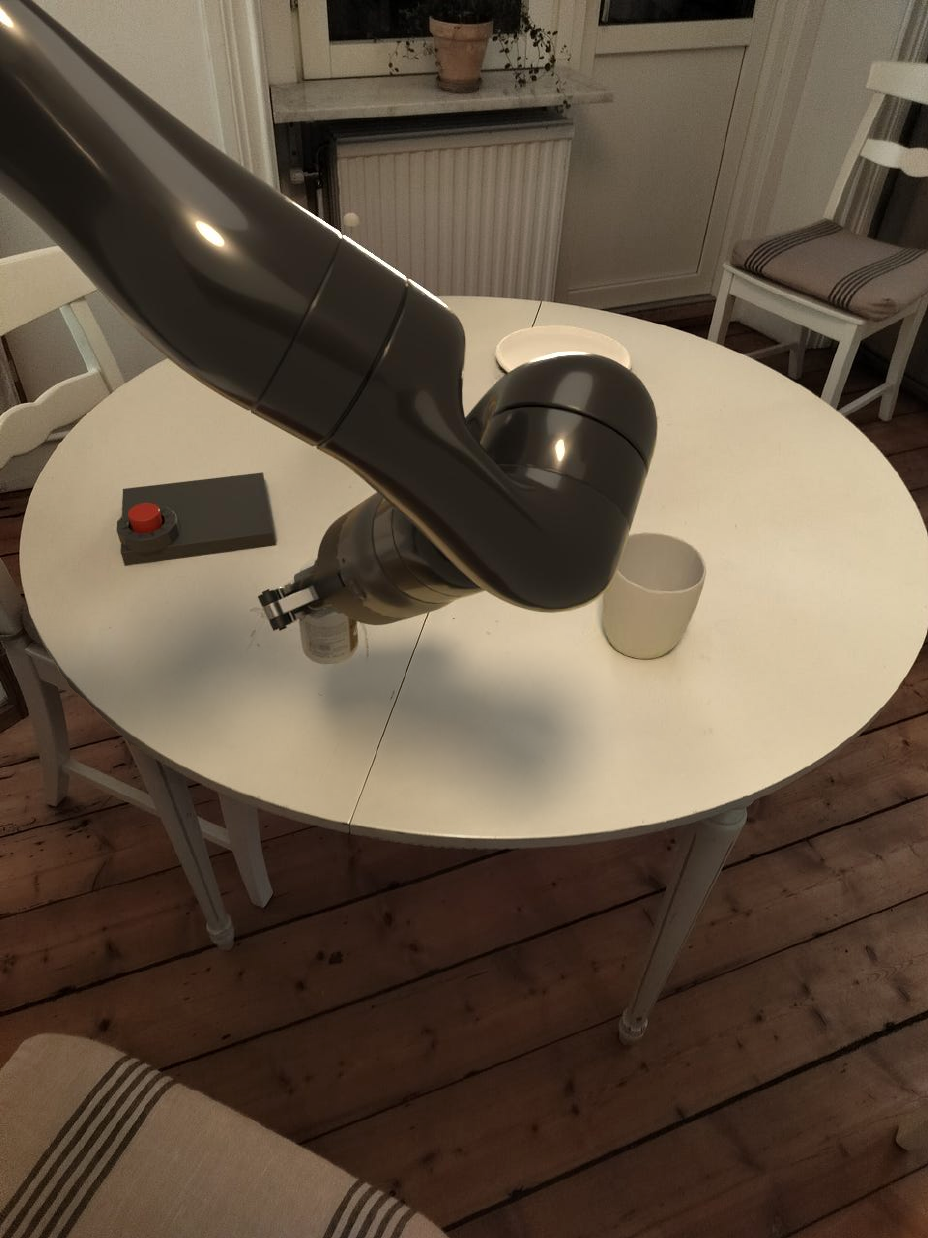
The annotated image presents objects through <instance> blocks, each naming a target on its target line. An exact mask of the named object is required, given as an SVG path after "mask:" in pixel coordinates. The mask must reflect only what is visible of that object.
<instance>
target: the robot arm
mask: <svg viewBox="0 0 928 1238" xmlns="http://www.w3.org/2000/svg"><path fill="white" fill-rule="evenodd" d="M0 194H1V195H2V196H4V197H5V198H6V199H7V200H9V202H11V203H12V204H13V205H14V206H16V207H17V208H18V209H19V210H20V211H21V212H22V213H23V214H25V215H26V217H28V218H29V219H30V220H31V221H32V222H34V224H35V225H37V226H38V227H39V228H40V229H41V230H42V232H44V233H45V235H47V236H48V238H49V239H51V240H52V241H53V243H55V245H56V246H58V247H59V248H60V249H61V250H62V251H63V252H64V254H65V255H66V256H68V258H70V260H71V261H72V262H73V263H74V264H75V265H76V267H78V269H79V270H80V271H81V272H82V273H83V274H84V275H85V276H86V278H87V279H88V280H89V282H91V283H92V285H94V287H95V288H96V289H97V290H98V291H99V292H100V294H102V295H103V297H104V298H106V300H107V301H108V302H109V303H110V304H111V306H113V307H114V309H116V311H117V312H118V313H119V314H120V315H121V316H122V317H123V318H124V320H126V321H127V322H128V324H130V325H131V326H132V327H133V328H134V330H135V331H137V332H138V333H139V334H140V335H141V336H142V337H143V338H144V339H145V340H146V341H147V342H148V343H150V344H151V345H152V346H153V347H154V348H155V349H156V350H157V351H158V352H160V353H161V354H162V355H163V356H164V357H166V358H167V359H168V360H169V361H171V362H172V363H173V364H174V365H175V366H176V367H178V368H179V369H181V371H183V372H185V373H186V374H188V375H189V376H190V377H191V378H193V379H194V380H196V381H197V382H198V383H200V384H202V385H203V386H205V387H207V388H208V389H210V390H211V391H213V392H215V393H216V394H218V395H219V396H221V397H222V398H224V399H226V400H228V401H230V402H231V403H233V404H235V405H237V406H239V407H241V408H242V409H244V410H246V411H247V412H248V411H250V413H251V414H253V415H255V416H257V417H258V418H260V419H262V420H263V421H266V422H268V424H271V425H273V426H274V427H276V428H278V429H280V430H282V431H284V432H285V433H287V434H289V435H291V436H293V437H295V438H297V439H298V440H300V441H302V442H304V443H306V444H307V445H309V446H310V447H316V449H317V450H318V451H320V452H321V453H323V454H326V455H327V456H330V457H331V458H333V459H334V460H336V461H338V462H339V463H341V464H343V465H344V466H345V467H347V468H348V469H350V470H351V471H352V472H353V473H354V474H356V475H357V476H358V477H360V478H361V479H362V481H364V482H365V483H366V484H368V486H369V487H371V488H372V489H373V490H374V491H375V493H373V494H372V495H370V496H369V497H367V498H366V499H364V500H363V501H362V502H360V503H359V504H357V505H355V506H354V507H352V508H351V509H350V510H348V511H346V512H345V513H343V514H342V515H341V516H339V517H338V518H336V519H335V520H334V521H333V523H331V524H330V525H329V526H328V528H327V530H326V531H325V532H324V534H323V536H322V538H321V541H320V543H319V547H318V551H317V556H316V558H317V559H316V558H315V559H316V560H315V562H314V565H313V566H311V567H309V568H307V569H305V570H303V571H301V572H300V571H299V572H296V573H295V574H294V576H293V583H291V582H289V583H287V584H285V585H284V586H283V587H282V586H280V587H277V588H274V589H271V590H270V589H269V588H267V589H264V590H263V591H261V594H259V595H258V596H257V598H258V601H259V603H260V605H261V607H262V609H263V612H264V615H265V616H266V619H267V621H268V624H269V625H270V627H271V629H272V631H273V632H274V631H277V630H278V631H279V632H281V631H283V630H285V629H288V627H287V626H288V625H291V624H292V623H295V622H297V621H299V619H300V621H301V620H303V619H305V618H306V616H307V615H309V616H310V617H311V618H312V619H314V620H317V619H319V618H322V617H324V616H326V615H329V614H331V613H334V612H336V613H338V614H341V613H343V614H344V615H346V616H347V617H349V618H351V619H353V620H355V621H357V623H359V624H364V625H370V626H384V625H390V624H394V623H396V622H397V623H398V622H400V621H404V620H408V619H412V618H414V617H418V616H421V615H425V614H429V613H431V612H435V611H437V610H440V609H443V608H444V607H446V606H448V605H450V604H452V603H453V602H455V601H458V600H460V599H465V598H468V597H471V596H473V595H477V594H481V593H484V592H488V594H490V595H491V596H493V597H495V598H497V599H498V600H501V601H502V602H504V603H507V604H509V605H511V606H515V607H517V608H520V609H524V610H526V611H531V612H536V613H546V614H555V613H565V612H570V611H575V610H578V609H581V608H585V607H586V606H589V605H590V604H592V603H593V602H595V601H597V600H598V599H599V598H601V597H603V594H604V593H605V591H606V590H607V589H608V588H609V586H610V585H611V583H612V581H613V579H614V577H615V575H616V573H617V571H618V568H619V565H620V562H621V559H622V556H623V553H624V550H625V547H626V543H627V540H628V537H629V535H630V533H631V528H632V527H633V522H634V519H635V516H636V513H637V509H638V506H639V503H640V499H641V497H642V493H643V491H644V487H645V483H646V479H647V477H648V474H649V470H650V468H651V465H652V461H653V458H654V455H655V450H656V446H657V438H658V430H659V429H658V427H659V426H658V417H657V410H656V406H655V403H654V400H653V397H652V395H651V394H650V392H649V390H648V389H647V387H646V386H645V384H644V383H643V381H642V380H641V379H640V378H639V377H638V376H637V375H636V374H635V373H634V372H633V371H632V370H631V369H630V370H629V369H628V368H626V367H624V366H623V365H621V364H620V363H618V362H616V361H614V360H612V359H610V358H607V357H604V356H601V355H597V354H592V353H585V352H561V353H554V354H549V355H545V356H542V357H538V358H536V359H533V360H531V361H528V362H526V363H524V364H522V365H520V366H518V367H516V368H515V369H513V370H512V371H510V372H509V373H506V374H505V375H503V376H502V377H501V378H500V379H499V380H498V381H496V382H495V383H494V385H492V386H491V387H490V388H489V389H488V390H487V391H486V392H485V393H484V395H483V396H482V397H481V398H480V399H479V400H478V401H477V403H476V404H475V405H474V407H472V409H471V410H470V411H469V413H467V414H466V415H465V410H464V403H463V402H464V401H463V388H464V387H463V386H464V378H465V377H464V375H465V367H466V357H467V356H466V355H467V341H466V340H467V339H466V332H465V329H464V326H463V323H462V322H461V320H460V318H459V317H458V316H457V315H456V313H455V312H454V311H453V310H452V309H451V308H450V307H448V305H446V304H445V303H444V302H443V301H442V300H441V299H439V298H438V297H437V296H435V295H434V294H433V293H431V292H430V291H428V290H427V289H425V288H423V287H422V286H421V285H419V284H418V283H416V282H415V281H413V280H412V279H410V278H406V276H405V275H404V274H403V273H401V272H400V271H398V270H397V269H395V268H394V267H392V266H391V265H390V264H388V263H386V262H385V261H383V260H382V259H380V258H379V257H377V256H376V255H374V254H373V253H371V252H370V251H368V250H367V249H365V248H364V247H362V246H361V245H359V244H358V243H356V242H355V241H354V240H353V241H352V239H351V238H349V237H347V236H346V235H344V234H342V233H341V232H340V231H339V230H338V229H336V228H334V227H333V226H331V225H330V224H328V223H326V222H325V221H324V220H322V219H321V218H319V217H318V216H316V215H315V214H313V213H312V212H311V211H309V210H308V209H306V208H304V207H303V206H302V205H300V204H298V203H297V202H295V201H293V200H292V199H291V198H289V197H288V196H286V195H285V194H284V193H282V192H280V191H279V190H278V189H276V188H274V187H273V186H272V185H270V184H269V183H267V182H266V181H264V180H263V179H262V178H260V177H258V176H257V175H255V174H254V173H253V172H251V171H250V170H249V169H247V168H246V167H244V166H243V165H241V164H240V162H237V161H236V160H235V159H233V158H232V157H230V156H229V155H228V154H227V153H225V152H223V151H222V150H221V149H219V148H218V147H216V146H215V145H214V144H213V143H211V142H210V141H208V140H207V139H205V138H204V137H203V136H202V135H200V134H199V133H198V132H196V131H194V130H193V129H192V128H191V127H189V126H188V125H187V124H186V123H184V122H183V121H182V120H180V119H179V118H178V117H176V116H175V115H173V114H172V113H171V112H169V110H167V109H166V108H164V107H163V106H162V105H161V104H159V103H158V102H157V101H155V100H154V99H153V98H152V97H150V96H149V95H148V94H147V93H145V92H144V91H143V90H142V89H140V88H139V87H138V86H136V85H135V84H134V83H133V82H132V81H130V80H129V79H128V78H126V77H125V76H124V75H123V74H122V73H120V72H119V71H118V70H117V69H115V68H114V67H113V66H112V65H110V64H109V63H108V62H107V61H105V60H104V59H103V58H101V56H99V55H98V54H97V53H95V52H94V51H93V50H92V49H91V48H90V47H88V45H86V44H85V43H84V42H82V41H81V40H80V39H79V38H78V37H77V36H75V35H74V34H73V33H72V32H71V31H69V30H68V29H67V28H66V27H65V26H63V25H62V24H61V23H60V22H59V21H58V20H56V19H55V18H54V17H53V16H51V15H50V14H49V13H48V12H47V11H46V10H45V9H43V8H42V7H41V6H40V5H39V4H37V3H36V2H35V1H34V0H0Z"/></svg>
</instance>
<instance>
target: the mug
mask: <svg viewBox="0 0 928 1238" xmlns="http://www.w3.org/2000/svg"><path fill="white" fill-rule="evenodd" d="M706 575H707V568H706V563H705V560H704V558H703V556H702V554H701V553H700V552H699V550H698V549H697V548H696V547H695V546H694V545H692V544H690V543H689V542H687V541H686V540H684V539H682V538H680V537H678V536H674V535H670V534H666V533H661V532H647V531H646V532H645V531H643V532H635V533H631V534H629V537H628V540H627V543H626V547H625V550H624V553H623V556H622V559H621V562H620V565H619V568H618V571H617V573H616V575H615V577H614V579H613V581H612V583H611V585H610V586H609V588H608V589H607V590H606V591H605V593H604V594H603V595H602V620H603V625H604V626H603V627H604V631H605V635H606V636H607V638H608V642H609V643H610V644H611V646H612V647H613V648H614V649H615V650H617V652H619V653H621V654H623V655H625V656H627V657H631V658H635V659H650V660H651V659H655V658H659V657H662V656H664V655H665V654H667V653H668V652H670V651H671V650H672V649H673V648H674V647H675V646H676V645H678V643H679V641H680V639H681V638H682V637H683V635H684V633H685V632H686V630H687V628H688V627H689V624H690V622H691V620H692V617H693V615H694V614H695V611H696V610H697V609H696V608H697V606H698V603H699V600H700V597H701V594H702V592H703V588H704V584H705V581H706Z"/></svg>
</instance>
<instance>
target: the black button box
mask: <svg viewBox="0 0 928 1238" xmlns="http://www.w3.org/2000/svg"><path fill="white" fill-rule="evenodd" d="M121 503H122V504H121V516H120V518H119V519H118V520H116V533H117V537H118V540H119V543H120V556H121V559H122V562H123V565H124V566H126V567H127V566H132V565H139V564H145V563H155V562H162V561H168V560H169V561H170V560H176V559H184V558H191V557H198V556H206V555H212V554H213V555H214V554H220V553H226V552H235V551H242V550H249V549H256V548H264V547H265V548H266V547H272V546H276V545H277V544H276V537H275V536H276V535H275V530H274V524H273V520H272V513H271V509H270V503H269V497H268V492H267V486H266V480H265V474H264V472H254V473H246V474H236V475H229V476H220V477H212V478H204V479H196V480H195V479H194V480H186V481H185V480H184V481H178V482H169V483H161V484H152V485H143V486H137V487H136V486H134V487H126V488H122V501H121ZM143 503H151V504H154V505H156V506H158V508H159V510H160V514H161V517H162V521H163V524H162V526H161V528H159V529H157V530H155V531H153V532H149V533H137V532H135V531H133V529H132V527H131V524H130V520H129V517H128V512H129V510H130V509H131V508H132V507H134V506H136V505H139V504H143Z"/></svg>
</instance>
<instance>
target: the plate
mask: <svg viewBox="0 0 928 1238" xmlns="http://www.w3.org/2000/svg"><path fill="white" fill-rule="evenodd" d="M561 352H585V353H592V354H597V355H601V356H604V357H607V358H610V359H612V360H614V361H616V362H618V363H620V364H621V365H623V366H624V367H626V368H628V369H629V370H630V371H631V369H632V367H633V361H632V356H631V355H630V353H629V352H628V350H627V349H626V347H625V346H623V345H622V344H621V343H619V342H618V341H616V340H615V339H613V338H611V337H610V336H607V335H605V334H603V333H600V332H597V331H594V330H591V329H586V328H581V327H576V326H569V325H556V324H555V325H538V326H532V327H528V328H526V327H525V328H522V329H519V330H516V331H514V332H511V333H509V334H508V335H506V336H505V337H503V338H502V339H501V340H500V341H499V342H498V344H497V345H496V347H495V354H494V358H495V359H496V361H497V363H498V366H499V367H501V369H503V371H505V372H506V374H508V373H509V372H510V371H512V370H513V369H515V368H516V367H518V366H520V365H522V364H524V363H526V362H528V361H531V360H533V359H536V358H538V357H542V356H545V355H549V354H554V353H561Z"/></svg>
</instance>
